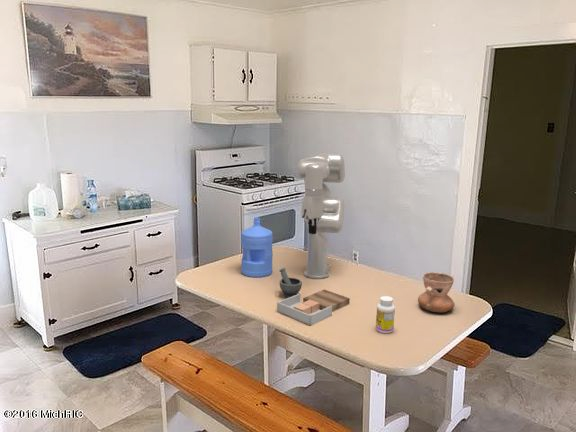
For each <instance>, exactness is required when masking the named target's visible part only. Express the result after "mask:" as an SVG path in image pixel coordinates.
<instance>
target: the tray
mask: <svg viewBox="0 0 576 432" xmlns="http://www.w3.org/2000/svg"><path fill="white" fill-rule="evenodd" d="M276 303H277V304H276V311H277V313H280V314H282V315H284V316H286V317H289V318H291V319H293V320H295V321H298V322H300V323H302V324H306V325H308V326H313V325H315V324H317V323H319V322H321V321H324V320H325V319H328V318H330V317H331V316H333V312H332V306H329V307H327V308H325V309H323V310H320V309H319V310H317V311H316V312H314V313H310V314H306V313H304V312H301V311H299V310H296V309H294V306H296V305H298V304H300V303H303V301H302V302H301V294H300V293H297V295H295V296H292V297H290V298H284V299H282V300H280V301H277V302H276Z"/></svg>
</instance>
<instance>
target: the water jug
mask: <svg viewBox="0 0 576 432" xmlns="http://www.w3.org/2000/svg"><path fill="white" fill-rule="evenodd" d="M240 233H241V234H240V244H241V247H242V257H241V260H240V261H241V267H240V272H241V273H242V275H244V276H247V277H252V278H262V277H268V276H270V275H271V274H272V273H273V255H274V254H273V240H274V236H273V231H272V230H270V229H269V228H265V227H264V226H261V217H257V216H256V217H253V225H252V226H250V227H248V228H246V229H244V230H241V232H240Z"/></svg>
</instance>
